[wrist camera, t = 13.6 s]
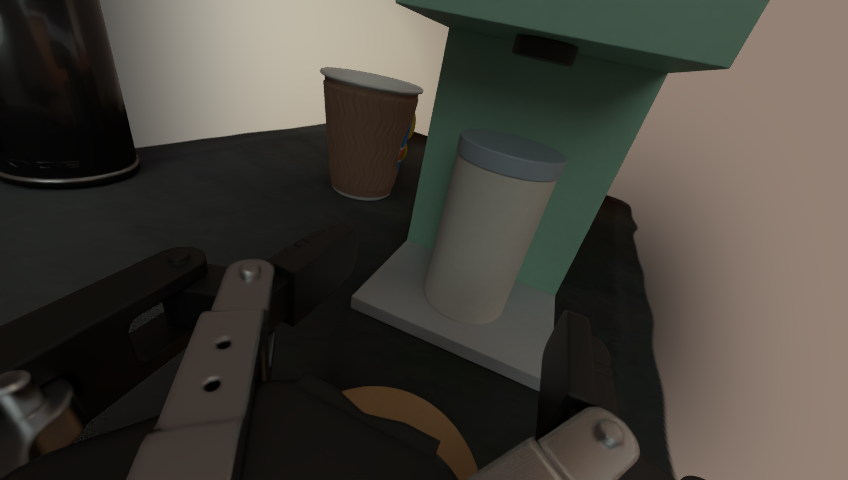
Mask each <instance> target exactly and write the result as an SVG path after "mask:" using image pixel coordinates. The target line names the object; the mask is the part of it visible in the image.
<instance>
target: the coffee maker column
mask: <svg viewBox="0 0 848 480" xmlns="http://www.w3.org/2000/svg"><path fill="white" fill-rule="evenodd" d="M514 42H515V41H511V40H506V39H502V38H497V37H492V36H487V35H482V34H478V33H473V32H468V31H463V30H458V29H454V28H449V32H448V37H447V42H446V47H445V52H444V57H443V63H442V67H441V72H440V77H439V83H438V88H437V92H436V98H435V103H434V107H433V112H432V117H431V123H430V128H429V133H428V138H427V143H426V148H425V153H424V158H423V163H422V168H421V173H420V178H419V183H418V188H417V193H416V198H415V203H414V208H413V213H412V218H411V223H410V228H409V233H408V238H407V240H408V241H410V242H413V243H416V244H418V245H421V246H424V247H426V248H429V249H432V250H433V249H434V245H435V241H436V237H437V233H438V229H439V225H440V221H441V217H442V213H443V209H444V205H445V201H446V197H447V193H448V189H449V185H450V181H451V177H452V173H453V169H454V165H455V161H456V157H457V153H458V152H457V145H458V141H459V137H460V133H461V131H463V130H467V129H483V130H491V131H497V132H502V133H506V134H511V135H515V136H519V137H522V138H526V139H529V140H532V141H535V142H538V143H541V144H543V145H546V146H548V147H550V148H553V149H555V150H557V151H558V152H560V153H562V154H563V155H564V156H565V157H566V158H567V163H566V166H565V168H564V170H563V173H562V175H561V177H560V178H559V179H558V180H557V182H556V184H555V187H554V189H553V192H552V194H551V196H550V199H549V201H548V203H547V206H546V208H545V211H544V213H543V215H542V218H541V220H540V223H539V225H538V227H537V230H536V232H535V235H534V237H533V239H532V242H531V244H530V246H529V249H528V251H527V254H526V256H525V258H524V261H523V263H522V266H521V268H520V270H519V273H518V275H517V278H516V280H515V281H517V282H520V283H522V284H525V285H528V286H530V287H533V288H536V289H538V290H541V291H544V292H546V293H549V294H552V295H554V296H555V294H556V293H557V291H558V289H559V287H560V285H561V283H562V281H563V279H564V277H565V275H566V273H567V271H568V269H569V267H570V265H571V263H572V261H573V259H574V257H575V255H576V253H577V251H578V249H579V247H580V245H581V243H582V241H583V239H584V237H585V236H586V234H587V232H588V230H589V228H590V226H591V224H592V222H593V220H594V218H595V216H596V214H597V212H598V210H599V208H600V206H601V204H602V202H603V200H604V198H605V196H606V194H607V192H608V190H609V188H610V186H611V184H612V182H613V180H614V178H615V177H616V175H617V173H618V171H619V168H620V167H621V165H622V163H623V161H624V158H625V157H626V155H627V153H628V151H629V149H630V147H631V145H632V143H633V141H634V139H635V137H636V135H637V133H638V131H639V129H640V127H641V125H642V123H643V121H644V119H645V117H646V115H647V114H648V112H649V110H650V107H651V106H652V104H653V102H654V100H655V98H656V96H657V94H658V92H659V90H660V88H661V86H662V84H663V82H664V80H665V78H666V76H667V74H668V73H665V72H660V71H655V70H650V69H645V68H641V67H636V66H631V65H626V64H621V63H617V62H612V61H607V60H602V59H598V58H593V57H588V56H583V55H578V54H577V55H576V57H575V60H574V63H573V65H572V66H564V65H559V64H554V63H549V62H544V61H539V60H535V59H531V58H527V57H523V56H519V55H515V54H513V53H512V49H513V45H514Z"/></svg>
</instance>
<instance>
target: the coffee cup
mask: <svg viewBox="0 0 848 480" xmlns="http://www.w3.org/2000/svg"><path fill="white" fill-rule="evenodd" d="M320 72H321V73H322V74H323V75H325V80H324V81H323V82H324V97H325V112H326V127H327V142H328V157H329V172H330V177H331V183H332V187H333V189H334V190H335V191H336V192H338V193H339V194H341V195H343V196H346V197H349V198H352V199H357V200H366V201H372V200H380V199H383V198H385V197H387V196H388V195H389V194H390V192H391V190H392V187H393V185H394V183H395V179H396V176H397V172H398V171H399V168H400V165H401V161H402V157H403V154H404V150H405V147H406V143H407V139H408V136H409V132H410V129H411V125H412V121H413V117H414V113H415V110H416V106H417V103H418V94H422V93H423V89H422V88H421V87H419V86H416V85H414V84H411V83H408V82H405V81H401V80H398V79H394V78H390V77H386V76H381V75H377V74H372V73H367V72H361V71H355V70H349V69H342V68H329V67H326V68H321V70H320Z"/></svg>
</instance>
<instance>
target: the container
mask: <svg viewBox="0 0 848 480" xmlns="http://www.w3.org/2000/svg"><path fill="white" fill-rule="evenodd" d="M457 152H458V153H457V157H456V161H455V165H454V169H453V173H452V177H451V181H450V185H449V189H448V193H447V197H446V201H445V205H444V209H443V213H442V217H441V221H440V225H439V229H438V233H437V237H436V241H435V245H434V249H433V253H432V257H431V261H430V265H429V269H428V273H427V277H426V281H425V285H424V292H425V295H426V298H427V300H428V301H429V303H430V304H431V305H432V306H433V308H435V309H436V310H437V311H438V312H439V313H441V314H442V315H444V316H446V317H447V318H450V319H452V320H454V321H457V322H460V323H464V324H471V325H481V324H487V323H490V322H492V321H494V320H496V319H497V318H498V317H499V316H500V315H501V313H502V311H503V309H504V306H505V304H506V301H507V299H508V297H509V294H510V292H511V289H512V287H513V285H514V282H515V280H516V278H517V275H518V273H519V270H520V268H521V266H522V263H523V261H524V258H525V256H526V254H527V251H528V249H529V246H530V244H531V242H532V239H533V237H534V235H535V232H536V230H537V227H538V225H539V223H540V220H541V218H542V215H543V213H544V211H545V208H546V206H547V203H548V201H549V199H550V196H551V194H552V192H553V189H554V187H555V184H556V182H557V180H558V179H559V178H560V177H561V175H562V173H563V170H564V168H565V166H566V163H567V158H566V157H565V156H564V155H563V154H562V153H560V152H558V151H557V150H555V149H553V148H550V147H548V146H546V145H543V144H541V143H538V142H535V141H532V140H529V139H526V138H522V137H519V136H515V135H511V134H506V133H502V132H497V131H491V130H483V129H467V130H463V131H461V133H460V137H459V141H458V145H457Z"/></svg>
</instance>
